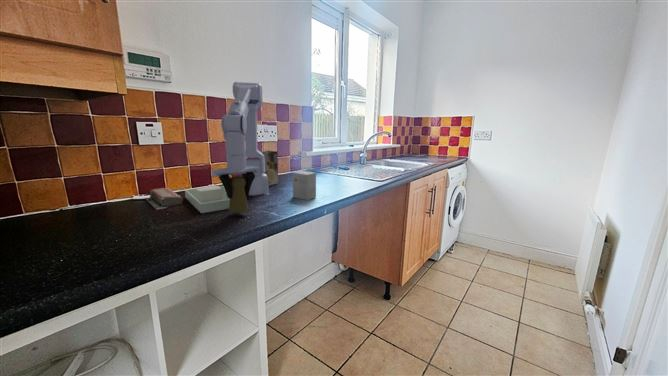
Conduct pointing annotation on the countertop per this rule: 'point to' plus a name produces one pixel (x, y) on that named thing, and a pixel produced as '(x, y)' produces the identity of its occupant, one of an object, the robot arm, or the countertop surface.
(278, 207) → the countertop surface
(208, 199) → the white box
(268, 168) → the coffee box
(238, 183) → the brown rounded lobed piece
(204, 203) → the box
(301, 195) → the small box
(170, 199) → the packaged product
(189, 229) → the countertop surface
